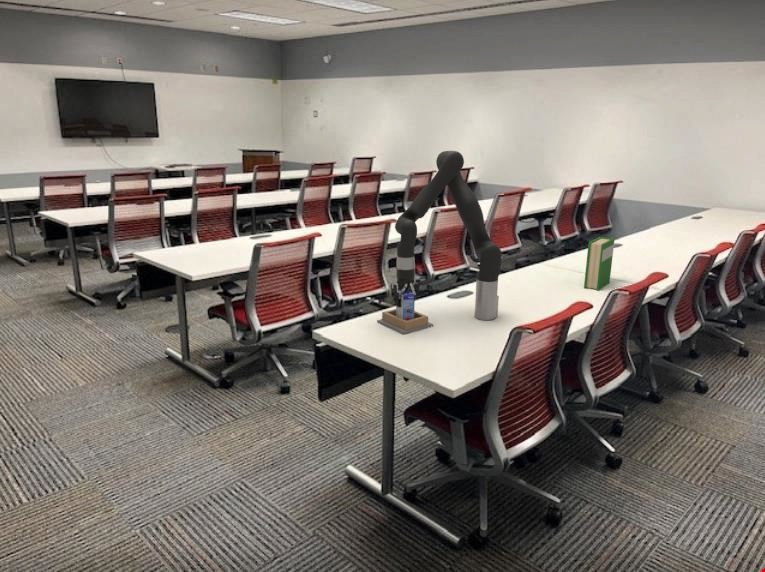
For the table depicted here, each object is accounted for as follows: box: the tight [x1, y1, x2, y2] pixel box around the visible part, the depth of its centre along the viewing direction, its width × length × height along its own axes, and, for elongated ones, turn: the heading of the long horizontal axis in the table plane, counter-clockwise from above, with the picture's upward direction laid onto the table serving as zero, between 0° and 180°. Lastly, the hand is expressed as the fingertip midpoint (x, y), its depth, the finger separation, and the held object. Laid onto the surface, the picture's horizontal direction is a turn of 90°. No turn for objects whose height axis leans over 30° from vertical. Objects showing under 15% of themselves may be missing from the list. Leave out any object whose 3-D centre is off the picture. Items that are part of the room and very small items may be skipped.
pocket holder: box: [376, 308, 434, 335], centre depth 242 cm, size 16×18×4 cm
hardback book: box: [583, 236, 616, 292], centre depth 294 cm, size 18×7×24 cm, turn 142°
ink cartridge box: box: [395, 287, 416, 321], centre depth 239 cm, size 10×6×14 cm, turn 16°
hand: (405, 305), depth 240 cm, fingers closed on ink cartridge box, 6 cm apart
